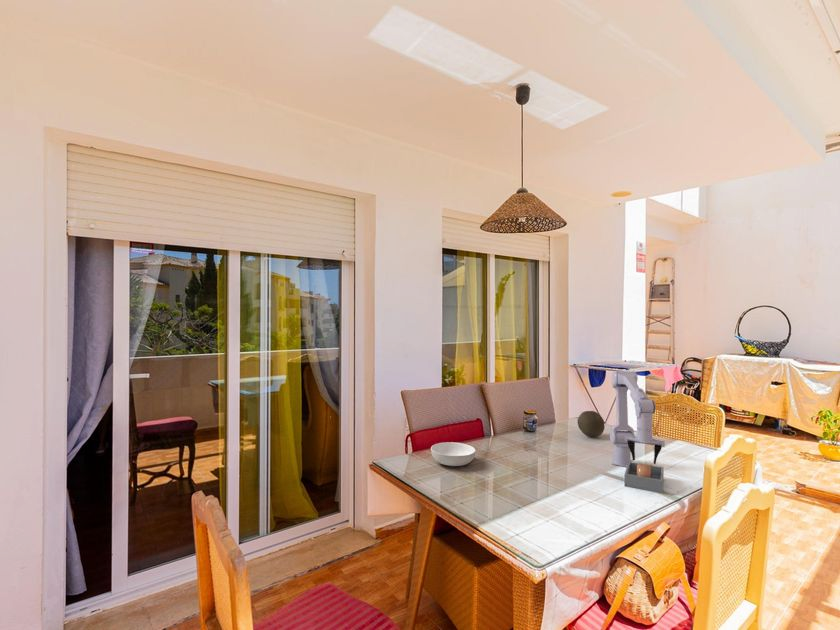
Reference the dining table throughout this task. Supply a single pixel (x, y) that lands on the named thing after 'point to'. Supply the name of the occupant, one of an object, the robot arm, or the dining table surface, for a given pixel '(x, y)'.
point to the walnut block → (651, 469)
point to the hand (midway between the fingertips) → (644, 461)
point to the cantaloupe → (591, 423)
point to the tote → (644, 478)
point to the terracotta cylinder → (644, 470)
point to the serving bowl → (453, 453)
